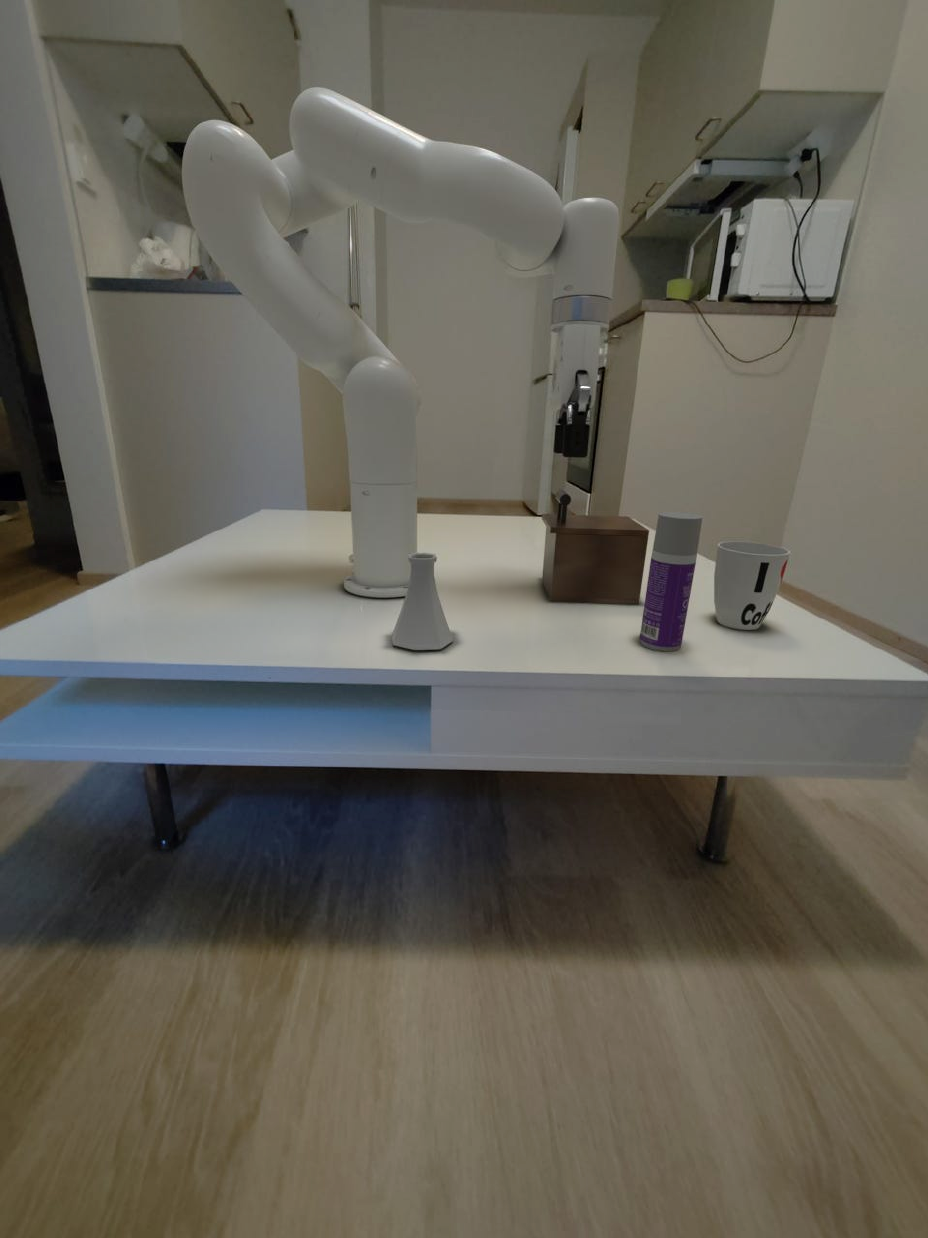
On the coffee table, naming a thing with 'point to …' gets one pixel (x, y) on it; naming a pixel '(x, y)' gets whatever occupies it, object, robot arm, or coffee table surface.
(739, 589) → the cup
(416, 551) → the robot arm
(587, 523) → the bin lid
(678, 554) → the container
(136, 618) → the coffee table surface
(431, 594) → the flask
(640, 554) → the bin
